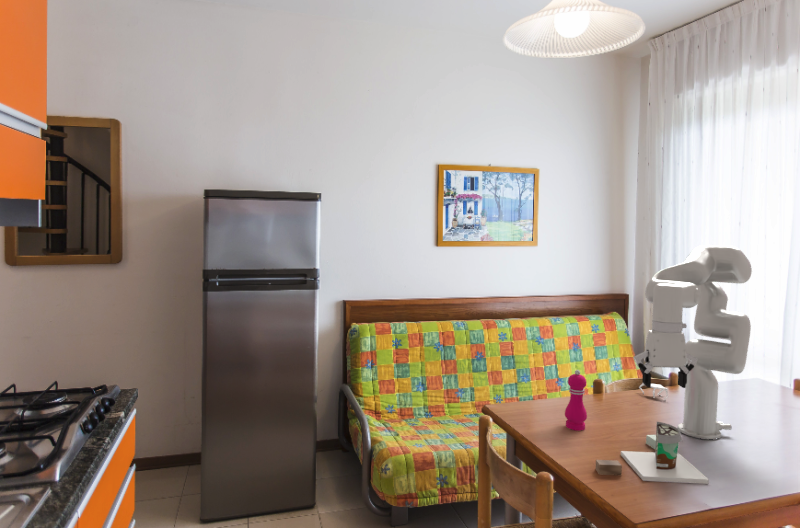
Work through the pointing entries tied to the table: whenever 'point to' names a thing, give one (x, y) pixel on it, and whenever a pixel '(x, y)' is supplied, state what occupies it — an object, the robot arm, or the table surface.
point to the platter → (647, 470)
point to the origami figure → (656, 386)
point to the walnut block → (608, 467)
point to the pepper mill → (576, 403)
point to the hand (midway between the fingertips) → (664, 386)
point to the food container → (666, 446)
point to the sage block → (651, 440)
